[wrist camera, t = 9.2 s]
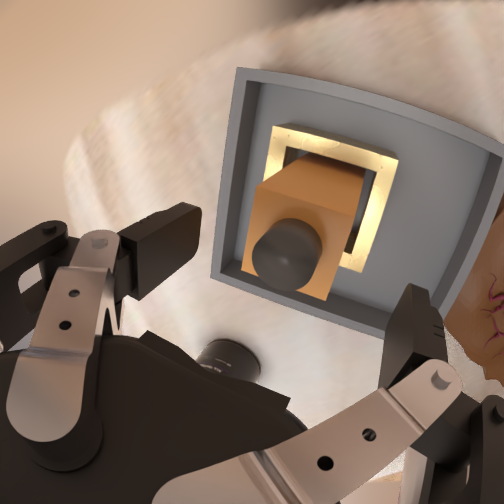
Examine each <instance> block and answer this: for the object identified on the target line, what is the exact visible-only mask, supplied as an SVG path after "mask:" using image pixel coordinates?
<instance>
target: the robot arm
mask: <svg viewBox="0 0 504 504" xmlns="http://www.w3.org/2000/svg"><path fill="white" fill-rule="evenodd" d="M201 218H202V210H201V208H200V207H197V206H194V205H191V204H188V203H185V202H181V203H179V204H177V205H175V206H173V207H171V208H169V209H167V210H164V211H159V212H155V213H153V214H151V215H149V216H147V217H146V218H144V219H142V220H140V221H139V222H136V223H134V224H132V225H130V226H129V227H127V228H125V229H123V230H121V231H119V232H117V233H115V232H113V231H110V230H95V231H91V232H88V233H86V234H84V235H83V236H82V237H81V239H79V238H74V237H70V236H68V229H67V225H66V223H64V222H62V221H57V220H53V221H47V222H43V223H41V224H39V225H37V226H35V227H33V228H32V229H29V230H27V231H26V232H24V233H22V234H20V235H18V236H17V237H15V238H13V239H11V240H9V241H8V242H6V243H4V244H3V245H1V246H0V504H341V503H340V500H341V499H343V498H344V497H346V496H347V495H349V494H350V493H351V492H353V491H354V490H355V489H357V488H359V487H360V486H361V485H363V484H364V483H365V482H367V481H368V480H369V479H371V478H372V477H373V476H374V475H376V474H377V473H378V472H380V471H381V470H382V469H383V468H385V467H386V466H387V465H388V464H389V463H391V462H392V461H393V460H394V459H395V458H396V457H398V456H399V455H400V454H401V453H402V452H403V451H404V450H406V453H405V460H404V468H403V475H402V481H401V487H400V493H399V498H398V504H504V399H503V398H501V397H499V396H497V395H489V396H487V397H486V398H485V399H484V400H483V401H482V402H481V403H478V402H477V401H475V400H474V399H472V398H470V397H469V396H467V395H466V394H464V393H463V392H462V391H461V390H462V381H461V378H460V376H459V374H458V373H457V371H456V370H455V369H454V368H453V367H452V366H451V365H449V364H448V356H447V347H446V339H445V332H444V325H443V318H442V317H441V315H440V313H439V312H438V310H437V308H435V307H433V306H431V304H430V297H429V291H428V290H427V289H425V288H422V287H420V286H417V285H414V284H412V283H409V284H408V285H407V286H406V288H405V290H404V292H403V294H402V296H401V298H400V300H399V302H398V304H397V306H396V307H395V309H394V311H393V313H392V315H391V317H390V319H389V321H388V324H387V327H386V330H385V336H384V346H383V354H382V362H381V370H380V377H379V384H378V389H377V390H376V391H374V392H373V393H371V394H370V395H368V396H366V397H365V398H363V399H362V400H360V401H358V402H357V403H355V404H353V405H352V406H350V407H348V408H347V409H345V410H343V411H342V412H340V413H338V414H336V415H335V416H333V417H331V418H329V419H327V420H326V421H324V422H322V423H320V424H318V425H316V426H314V427H312V428H311V429H309V430H308V428H307V427H306V426H305V425H304V424H303V423H302V422H301V421H300V420H299V419H298V418H297V417H296V416H295V415H294V414H292V413H291V412H290V411H288V410H287V409H286V408H287V406H288V403H289V401H290V399H291V398H289V397H287V396H284V395H282V394H279V393H277V392H275V391H272V390H270V389H267V388H265V387H263V386H260V385H258V384H256V383H253V382H250V381H245V380H240V379H236V378H232V377H227V376H223V375H219V374H215V373H211V372H209V371H207V370H206V369H204V368H203V367H202V366H201V365H200V364H198V363H197V362H196V361H195V360H194V359H192V358H191V357H190V356H189V355H188V354H186V353H185V352H184V351H183V350H182V349H181V348H179V347H178V346H176V345H174V344H172V343H170V342H169V341H167V340H165V339H163V338H161V337H159V336H157V335H156V334H154V333H152V332H150V331H148V330H147V331H146V332H145V333H144V334H143V335H142V336H141V337H140V338H135V337H130V336H123V335H122V323H123V313H124V297H125V296H126V295H129V296H131V297H133V298H135V299H136V300H138V301H140V300H141V299H142V298H144V297H145V296H146V295H147V294H148V293H150V292H151V291H152V290H153V289H155V288H156V287H157V286H158V285H160V284H161V283H162V282H163V281H164V280H166V279H167V278H168V277H169V276H171V275H172V274H173V273H174V272H176V271H177V270H178V269H179V268H181V267H182V266H183V265H184V264H186V263H187V262H188V261H189V260H191V259H192V258H193V257H194V255H195V254H196V252H197V249H198V245H199V237H200V227H201ZM37 263H39V268H40V272H41V276H42V279H41V280H40V281H38V282H37V283H35V284H34V285H33V286H31V287H30V288H28V289H27V290H26V291H25V292H23V293H22V294H21V293H20V290H19V287H18V281H19V278H20V276H21V275H22V274H23V273H24V272H25V271H27V270H28V269H30V268H31V267H33V266H34V265H36V264H37ZM34 328H35V330H34V333H33V336H32V339H31V342H30V345H29V347H28V348H27V349H21V350H15V351H8V350H9V349H10V348H12V347H13V346H14V345H15V344H16V343H17V342H18V341H20V340H21V339H22V338H23V337H24V336H25V335H27V334H28V333H29V332H30V331H31V330H32V329H34ZM7 351H8V352H7Z"/></svg>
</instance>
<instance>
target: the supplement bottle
mask: <svg viewBox="0 0 504 504" xmlns="http://www.w3.org/2000/svg"><path fill="white" fill-rule="evenodd" d="M196 362H197V363H198V364H200V365H201V366H202V367H203V368H204V369H206V370H207V371H209V372H211V373H215V374H219V375H223V376H227V377H232V378H236V379H240V380H245V381H250V382H253V383H256V381H257V379H258V377H259V372H260V370H259V365H258V363H257V361H256V359H255V358H254V356H253V355H252V354H251V353H250V352H249V351H248V350H246V349H245V348H244V347H242V346H240V345H238V344H236V343H234V342H230V341H225V340H219V341H214V342H212V343H210V344H209V345H208V346H207V347H206V348H205V349H204V351H203V352H202V353H201V354H200V356H199V357H198V358H197V359H196Z"/></svg>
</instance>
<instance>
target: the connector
mask: <svg viewBox="0 0 504 504" xmlns="http://www.w3.org/2000/svg"><path fill="white" fill-rule="evenodd" d="M365 171H366V169H365V168H362V167H359V166H356V165H352V164H349V163H346V162H343V161H340V160H336V159H333V158H330V157H326V156H323V155H320V154H316V153H313V152H308V153H306V154H305V155H303V156H302V157H300V158H299V159H297V160H295V161H294V162H292V163H291V164H289V165H288V166H286V167H285V168H283V169H282V170H280V171H278V172H277V173H275V174H274V175H272V176H271V177H269V178H268V179H266V180H265V181H263V182H262V183H260V184H259V185H257V186H256V190H255V195H254V201H253V206H252V212H251V217H250V223H249V228H248V234H247V240H246V245H245V251H244V256H243V262H242V268H241V270H242V271H245V272H248V273H250V274H253V275H256V276H258V277H260V279H261V280H262V281H263V282H265V283H266V284H267V285H269V286H271V287H273V288H275V289H278V290H282V291H294V290H297V291H299V292H302V293H305V294H308V295H310V296H313V297H316V298H319V299H321V300H324V301H326V298H327V296H328V293H329V290H330V288H331V285H332V282H333V280H334V277H335V274H336V271H337V269H338V266H339V263H340V260H341V257H342V255H343V252H344V249H345V246H346V243H347V240H348V237H349V234H350V231H351V228H352V225H353V222H354V219H355V215H356V211H357V207H358V203H359V198H360V194H361V189H362V185H363V180H364V176H365Z"/></svg>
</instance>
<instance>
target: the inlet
mask: <svg viewBox="0 0 504 504" xmlns="http://www.w3.org/2000/svg"><path fill="white" fill-rule="evenodd" d="M298 149H301V150H305V151H309V152H313V153H316V154H320V155H324V156H327V157H331V158H334V159H338V160H341V161H345V162H348V163H351V164H354V165H358V166H361V167H364V168H367V169H370V170H374V171H375V172H374V176H373V179H372V183H371V186H370V190H369V193H368V197H367V200H366V203H365V207H364V210H363V213H362V217H361V220H360V223H359V226H358V229H357V232H356V233H353V232H350V234H349V237H348V240H347V243H346V246H345V249H344V252H343V255H342V257H341V260H340V263H339V266H342V267H345V268H348V269H351V270H354V271H357V272H360V273H362V270H363V267H364V265H365V262H366V259H367V257H368V254H369V251H370V248H371V246H372V243H373V240H374V237H375V234H376V232H377V229H378V226H379V223H380V220H381V217H382V214H383V211H384V208H385V205H386V201H387V198H388V195H389V192H390V189H391V185H392V182H393V179H394V175H395V172H396V168H397V165H398V161H399V160H398V158H397V155H396V153H395V152H392V151H389V150H386V149H383V148H380V147H377V146H374V145H371V144H368V143H364V142H361V141H358V140H354V139H351V138H347V137H344V136H340V135H337V134H333V133H329V132H325V131H321V130H317V129H313V128H309V127H305V126H301V125H297V124H292V123H285V124H280V125H274V126H273V128H272V134H271V140H270V145H269V151H268V157H267V163H266V168H265V174H264V180H263V181H265V180H266V179H268V178H269V177H271V176H272V175H274V174H275V173H277V172H278V171H280V170H282V169H283V168H285V167H286V166H288V165H289V164H291V163H292V162H294V161H295V160H296V159H297V154H298Z"/></svg>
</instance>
